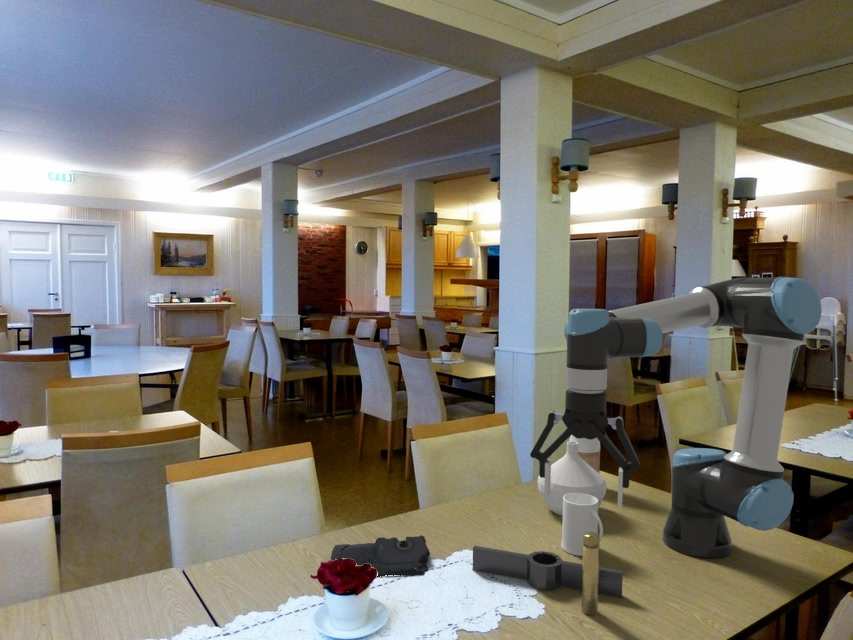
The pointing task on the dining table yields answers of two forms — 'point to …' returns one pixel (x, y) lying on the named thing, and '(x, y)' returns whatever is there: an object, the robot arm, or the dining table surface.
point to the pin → (590, 573)
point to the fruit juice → (588, 451)
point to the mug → (579, 521)
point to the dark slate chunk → (389, 555)
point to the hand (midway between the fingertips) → (582, 499)
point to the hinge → (543, 570)
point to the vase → (571, 480)
